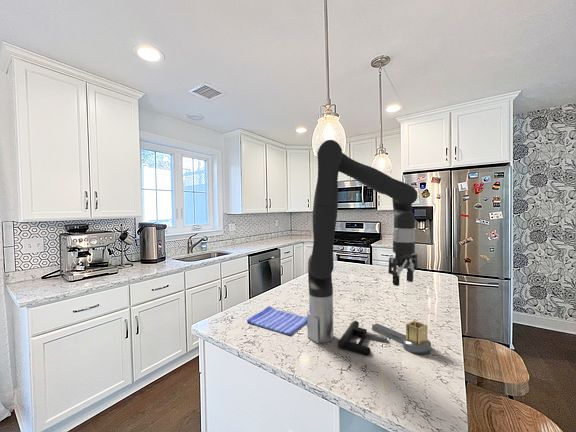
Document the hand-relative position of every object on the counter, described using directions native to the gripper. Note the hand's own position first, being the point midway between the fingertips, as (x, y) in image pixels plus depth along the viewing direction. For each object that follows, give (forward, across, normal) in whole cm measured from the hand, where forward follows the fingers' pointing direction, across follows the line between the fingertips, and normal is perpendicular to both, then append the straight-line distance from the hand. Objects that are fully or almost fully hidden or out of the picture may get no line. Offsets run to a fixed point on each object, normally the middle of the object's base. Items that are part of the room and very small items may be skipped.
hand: (403, 283), depth 99 cm
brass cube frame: (+19, 0, +6) cm, 20 cm away
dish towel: (+24, +29, -42) cm, 56 cm away
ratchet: (+22, 0, -1) cm, 22 cm away
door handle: (+23, +12, -8) cm, 27 cm away
